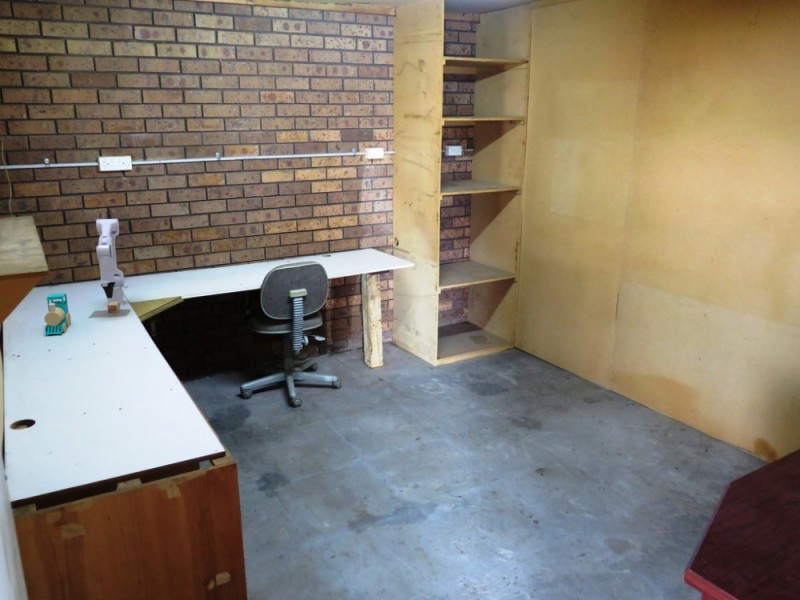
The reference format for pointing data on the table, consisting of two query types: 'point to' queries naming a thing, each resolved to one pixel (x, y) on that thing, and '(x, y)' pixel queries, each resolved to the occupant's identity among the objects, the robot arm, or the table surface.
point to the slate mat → (105, 313)
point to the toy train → (57, 314)
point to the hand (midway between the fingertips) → (109, 297)
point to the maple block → (113, 307)
